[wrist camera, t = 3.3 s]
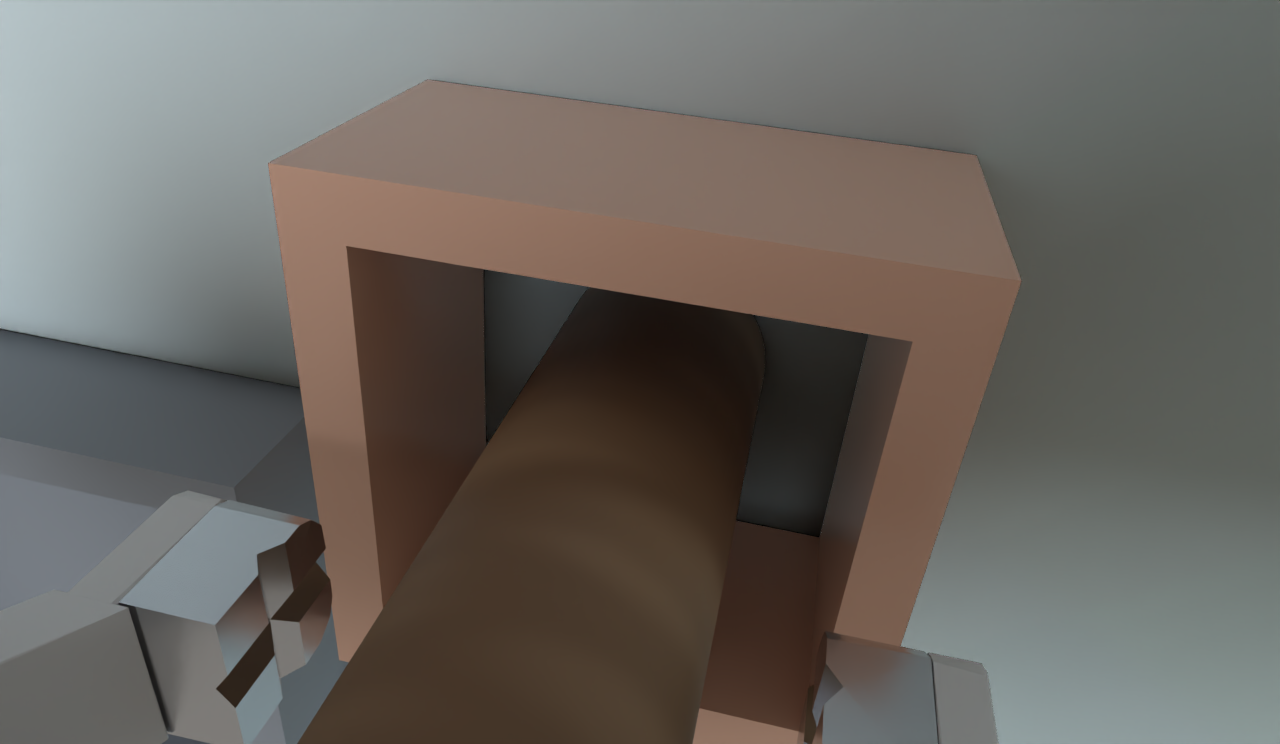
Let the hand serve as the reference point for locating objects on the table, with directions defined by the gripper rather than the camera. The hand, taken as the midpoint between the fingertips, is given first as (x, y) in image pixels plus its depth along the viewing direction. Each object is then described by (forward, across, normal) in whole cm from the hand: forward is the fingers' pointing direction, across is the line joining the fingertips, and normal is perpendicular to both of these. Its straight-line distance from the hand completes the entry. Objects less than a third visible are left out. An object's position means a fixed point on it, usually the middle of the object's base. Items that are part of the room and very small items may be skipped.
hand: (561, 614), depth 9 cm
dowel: (+6, 0, 0) cm, 6 cm away
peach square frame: (+6, 0, 0) cm, 6 cm away
